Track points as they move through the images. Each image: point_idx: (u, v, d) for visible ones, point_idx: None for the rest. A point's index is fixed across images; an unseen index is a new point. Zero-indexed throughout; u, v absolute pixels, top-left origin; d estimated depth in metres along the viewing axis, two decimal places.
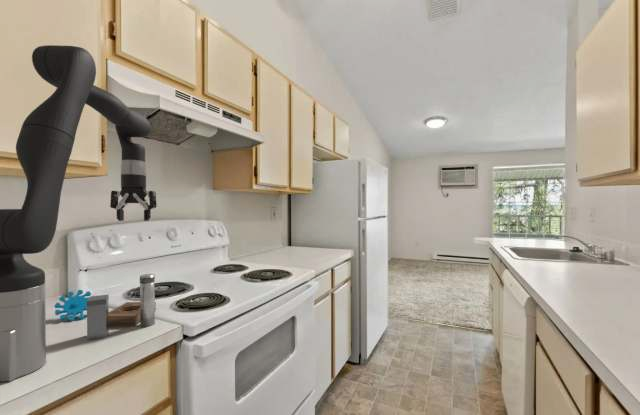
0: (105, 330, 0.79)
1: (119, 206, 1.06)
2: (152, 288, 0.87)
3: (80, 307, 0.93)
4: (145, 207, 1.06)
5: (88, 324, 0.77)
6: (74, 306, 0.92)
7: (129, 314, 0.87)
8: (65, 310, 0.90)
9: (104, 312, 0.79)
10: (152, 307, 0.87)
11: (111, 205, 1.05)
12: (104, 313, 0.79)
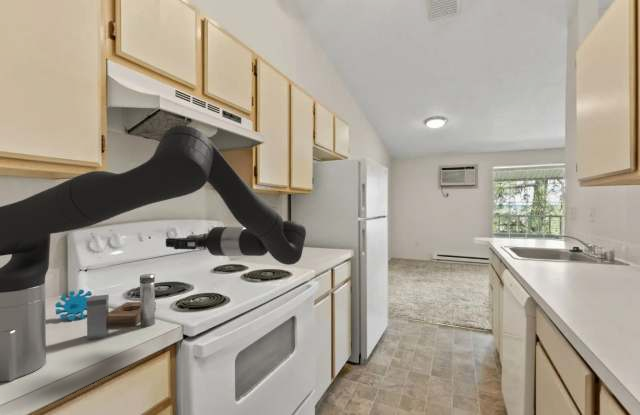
0: (105, 330, 0.79)
1: None
2: (152, 288, 0.87)
3: (80, 307, 0.93)
4: None
5: (88, 324, 0.77)
6: (74, 306, 0.92)
7: (129, 314, 0.87)
8: (65, 310, 0.91)
9: (104, 312, 0.79)
10: (152, 307, 0.87)
11: None
12: (104, 313, 0.79)
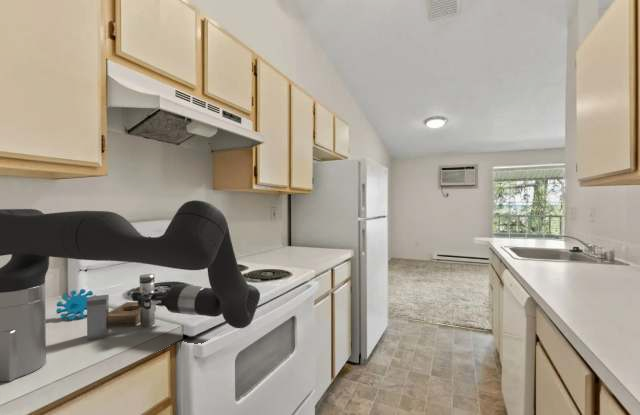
0: (105, 330, 0.79)
1: None
2: (152, 288, 0.87)
3: (81, 306, 0.93)
4: None
5: (88, 324, 0.77)
6: (75, 305, 0.93)
7: (129, 314, 0.87)
8: (66, 309, 0.91)
9: (104, 312, 0.79)
10: (152, 307, 0.87)
11: None
12: (104, 313, 0.79)
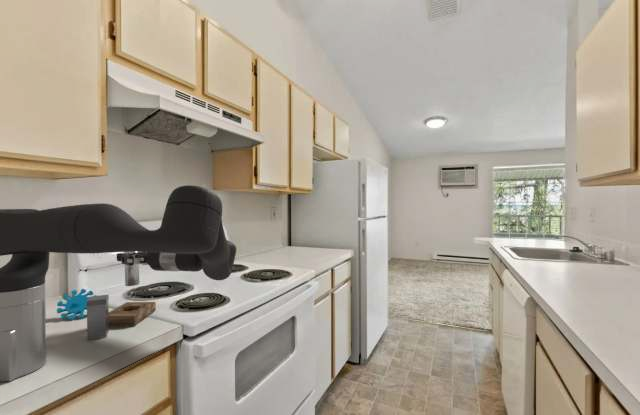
0: (105, 330, 0.79)
1: None
2: None
3: (81, 306, 0.93)
4: None
5: (88, 324, 0.77)
6: (75, 305, 0.93)
7: (129, 314, 0.87)
8: (66, 309, 0.92)
9: (104, 312, 0.79)
10: (136, 267, 0.91)
11: (123, 263, 0.86)
12: (104, 313, 0.79)
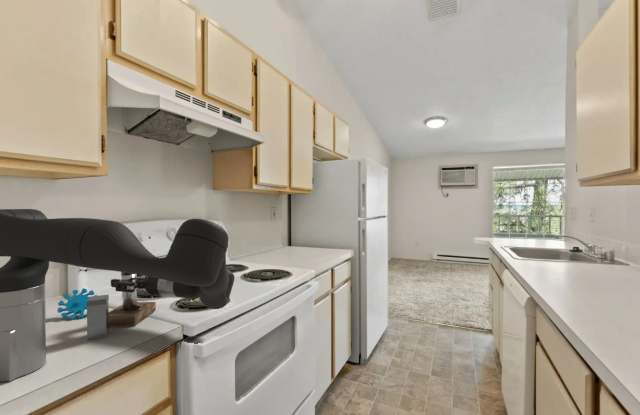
0: (105, 330, 0.79)
1: None
2: (133, 280, 0.91)
3: (81, 306, 0.94)
4: None
5: (88, 324, 0.77)
6: (76, 305, 0.93)
7: (129, 314, 0.87)
8: (67, 308, 0.92)
9: (104, 312, 0.79)
10: (134, 298, 0.91)
11: (118, 290, 0.84)
12: (104, 313, 0.79)
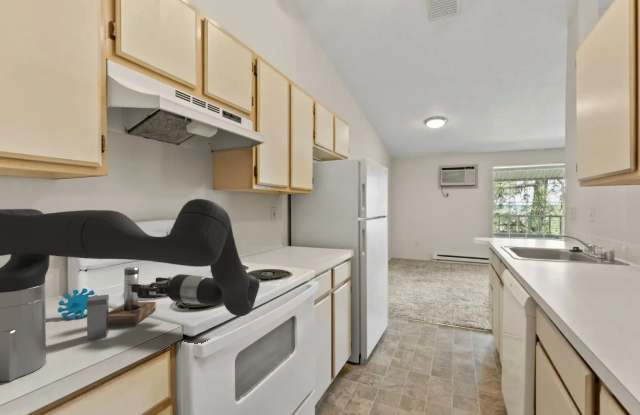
0: (105, 330, 0.79)
1: None
2: (136, 280, 0.92)
3: (81, 306, 0.94)
4: None
5: (88, 324, 0.77)
6: (76, 304, 0.93)
7: (129, 314, 0.87)
8: (67, 308, 0.92)
9: (104, 312, 0.79)
10: (135, 298, 0.92)
11: None
12: (104, 313, 0.79)
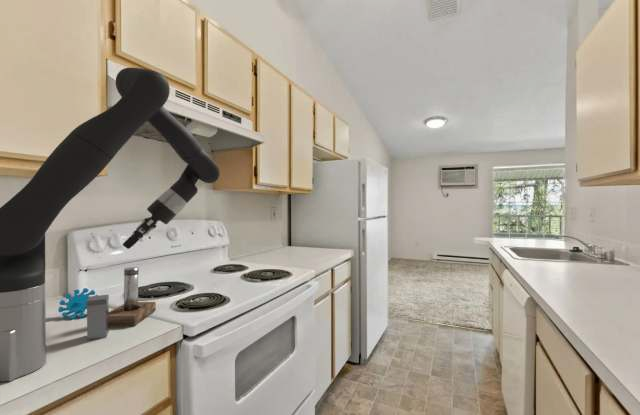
0: (105, 330, 0.79)
1: None
2: (136, 280, 0.91)
3: (82, 306, 0.94)
4: (143, 236, 0.98)
5: (88, 324, 0.77)
6: (76, 304, 0.94)
7: (129, 314, 0.87)
8: (68, 308, 0.92)
9: (104, 312, 0.79)
10: (135, 298, 0.91)
11: (142, 236, 0.89)
12: (104, 313, 0.79)
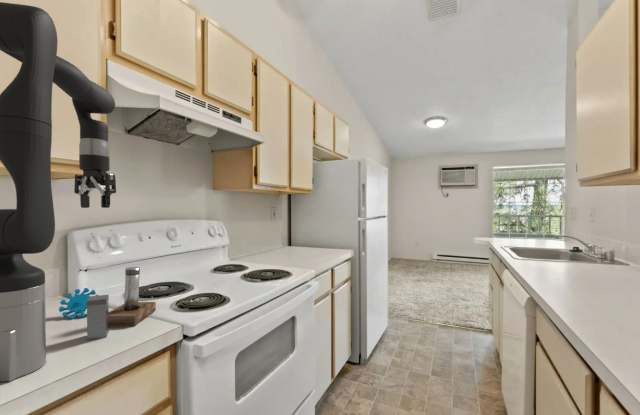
0: (105, 330, 0.79)
1: None
2: (137, 280, 0.91)
3: (82, 305, 0.94)
4: None
5: (88, 324, 0.77)
6: (77, 304, 0.94)
7: (129, 314, 0.87)
8: (68, 307, 0.93)
9: (104, 312, 0.79)
10: (136, 298, 0.91)
11: None
12: (104, 313, 0.79)
